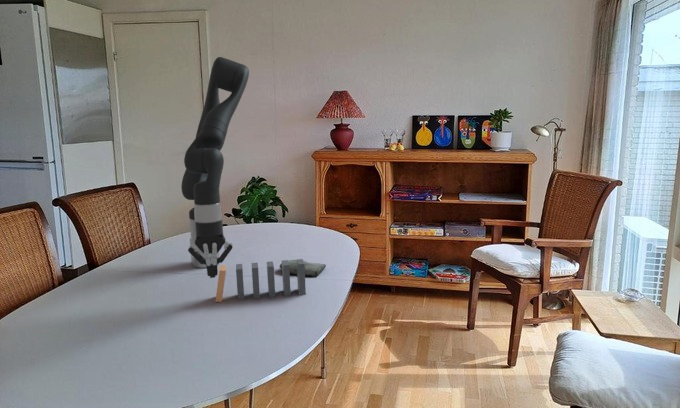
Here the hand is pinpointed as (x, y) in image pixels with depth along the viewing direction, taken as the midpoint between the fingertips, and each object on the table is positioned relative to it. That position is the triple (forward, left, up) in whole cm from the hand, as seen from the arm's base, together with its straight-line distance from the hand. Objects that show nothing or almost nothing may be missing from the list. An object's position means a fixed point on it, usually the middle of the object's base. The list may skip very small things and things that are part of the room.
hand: (212, 276), depth 146 cm
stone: (+3, +34, -8) cm, 35 cm away
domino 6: (+16, +20, -7) cm, 27 cm away
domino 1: (+1, +1, -7) cm, 7 cm away
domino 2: (+5, +6, -7) cm, 10 cm away
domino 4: (+11, +13, -7) cm, 18 cm away
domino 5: (+13, +16, -7) cm, 22 cm away
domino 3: (+8, +9, -7) cm, 14 cm away
